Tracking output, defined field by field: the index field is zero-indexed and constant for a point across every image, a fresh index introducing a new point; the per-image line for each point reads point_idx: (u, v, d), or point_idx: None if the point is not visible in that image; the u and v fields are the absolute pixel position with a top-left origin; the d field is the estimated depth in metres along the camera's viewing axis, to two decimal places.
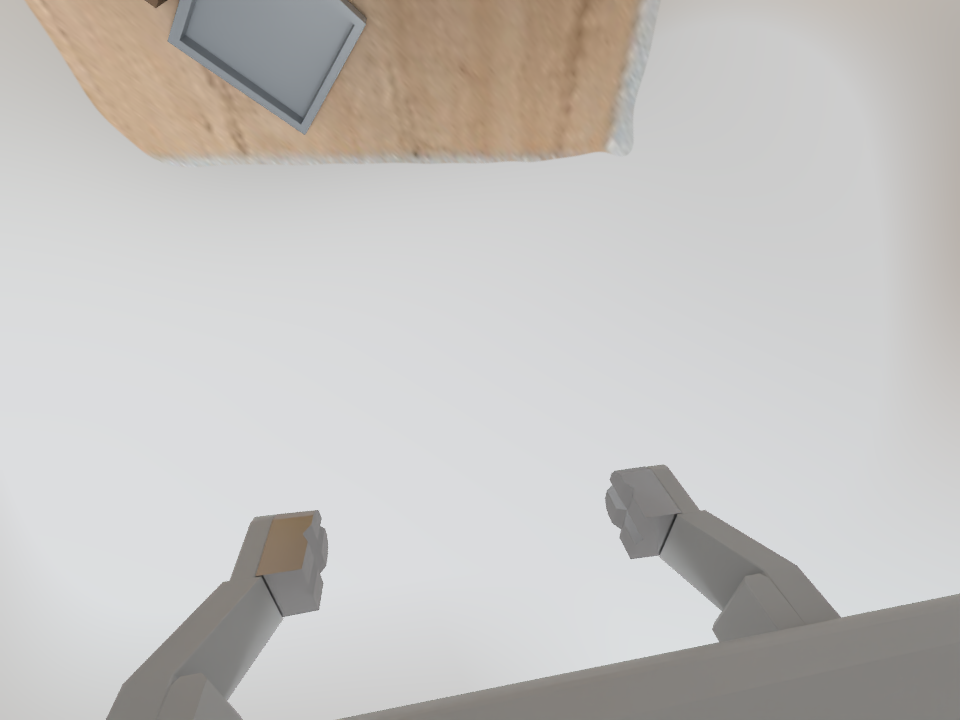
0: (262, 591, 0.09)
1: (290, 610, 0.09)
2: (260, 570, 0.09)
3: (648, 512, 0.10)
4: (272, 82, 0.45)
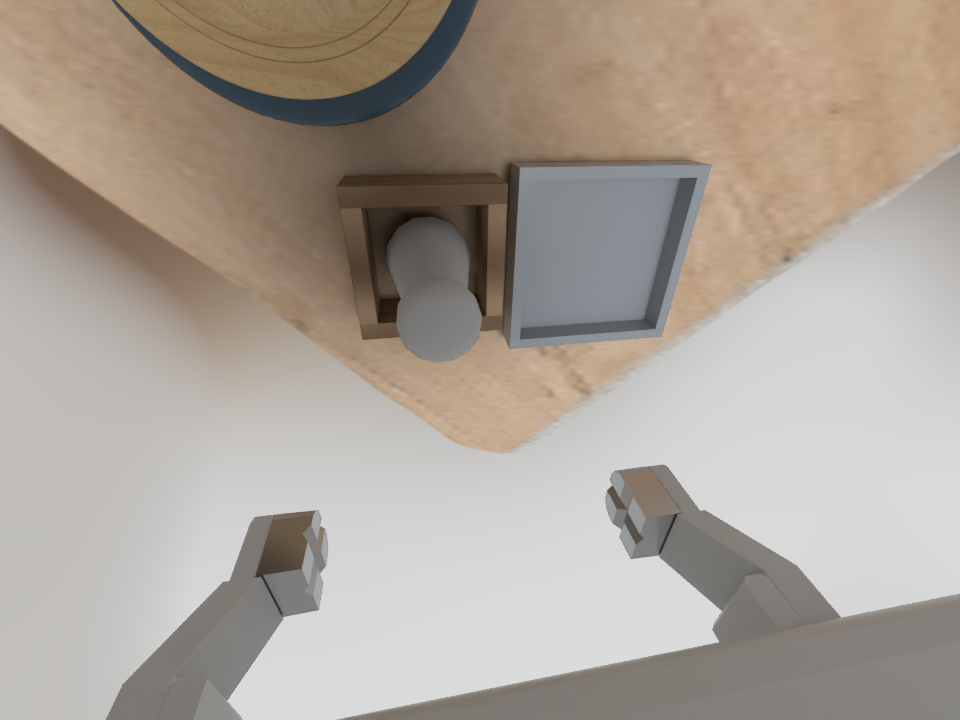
0: (262, 591, 0.09)
1: (290, 610, 0.09)
2: (260, 570, 0.09)
3: (648, 512, 0.10)
4: (604, 308, 0.35)
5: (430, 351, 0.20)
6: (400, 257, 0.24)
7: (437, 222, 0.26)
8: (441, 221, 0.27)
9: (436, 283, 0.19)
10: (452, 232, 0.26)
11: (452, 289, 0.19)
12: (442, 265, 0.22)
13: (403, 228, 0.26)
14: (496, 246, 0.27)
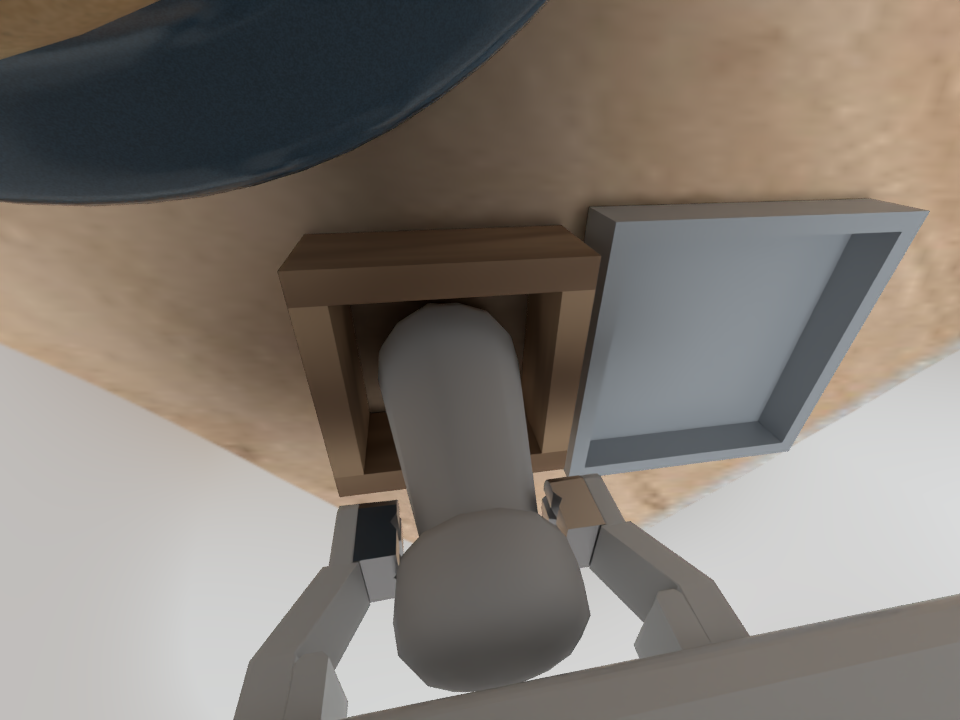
0: (358, 576, 0.09)
1: (378, 596, 0.10)
2: (357, 556, 0.09)
3: (571, 523, 0.10)
4: (705, 410, 0.23)
5: (472, 690, 0.09)
6: (402, 396, 0.13)
7: (467, 316, 0.15)
8: (473, 313, 0.15)
9: (491, 554, 0.08)
10: (493, 335, 0.15)
11: (533, 574, 0.08)
12: (489, 439, 0.11)
13: (407, 328, 0.15)
14: (569, 355, 0.15)
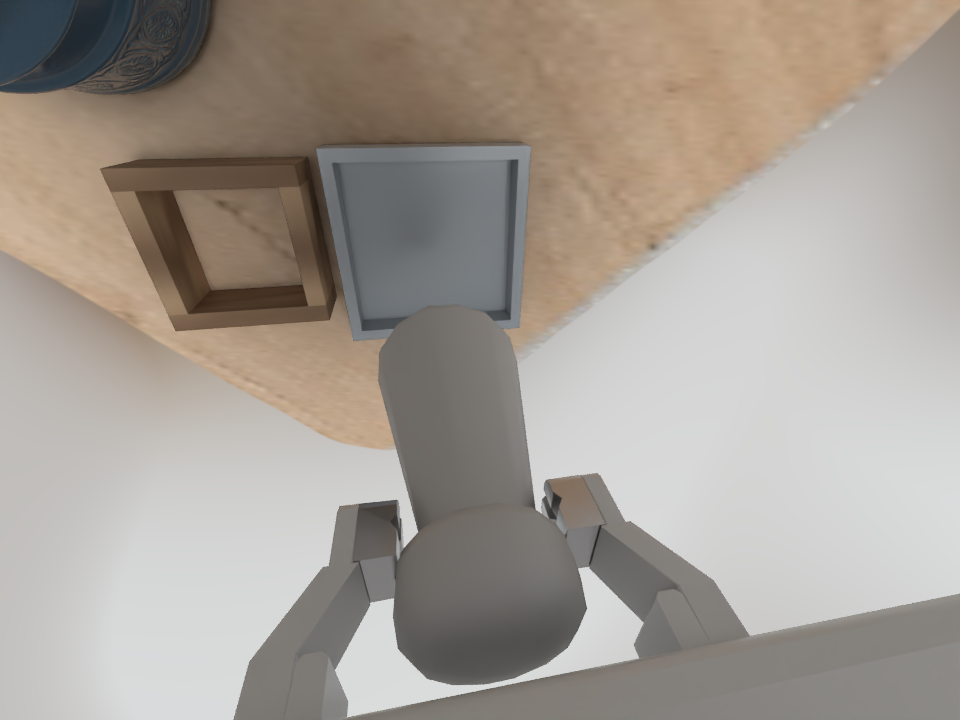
0: (358, 576, 0.09)
1: (378, 596, 0.10)
2: (356, 556, 0.09)
3: (571, 523, 0.10)
4: (458, 298, 0.34)
5: (471, 682, 0.09)
6: (402, 396, 0.13)
7: (466, 318, 0.15)
8: (472, 315, 0.15)
9: (488, 547, 0.08)
10: (492, 337, 0.15)
11: (529, 567, 0.08)
12: (487, 437, 0.11)
13: (407, 330, 0.15)
14: (299, 232, 0.26)
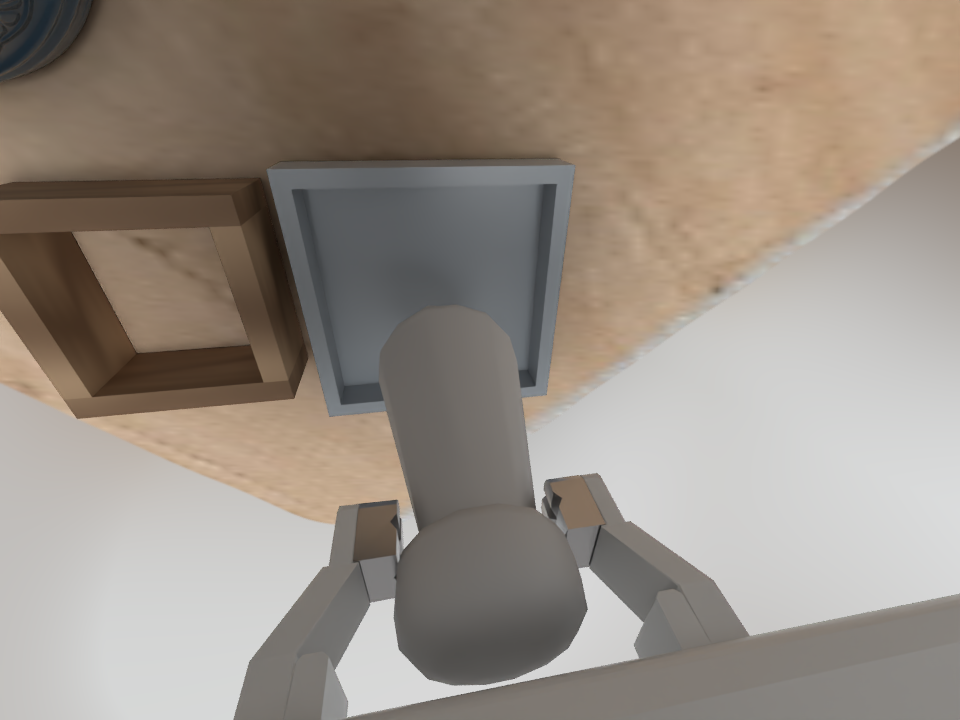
0: (358, 576, 0.09)
1: (378, 596, 0.10)
2: (357, 556, 0.09)
3: (571, 523, 0.10)
4: None
5: (472, 683, 0.09)
6: (402, 397, 0.13)
7: (467, 318, 0.15)
8: (472, 315, 0.15)
9: (489, 547, 0.08)
10: (492, 337, 0.15)
11: (530, 567, 0.08)
12: (487, 437, 0.11)
13: (407, 330, 0.15)
14: (245, 287, 0.18)
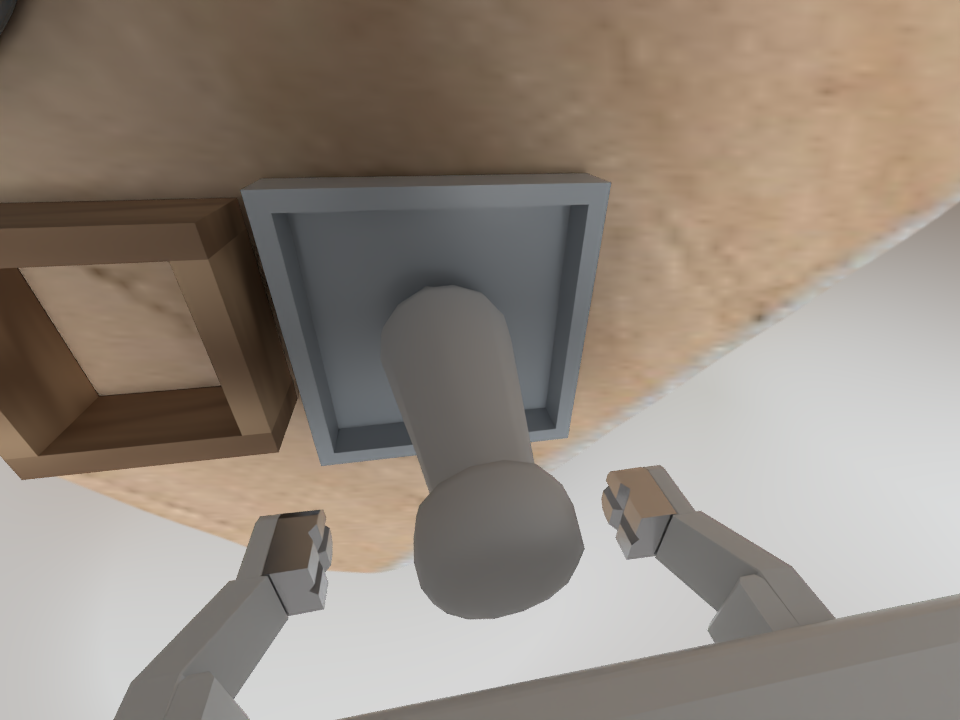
0: (268, 590, 0.09)
1: (295, 609, 0.09)
2: (266, 570, 0.09)
3: (644, 513, 0.10)
4: None
5: (485, 615, 0.10)
6: (407, 371, 0.14)
7: (464, 297, 0.16)
8: (469, 295, 0.16)
9: (500, 495, 0.09)
10: (489, 314, 0.16)
11: (536, 511, 0.09)
12: (490, 405, 0.12)
13: (408, 309, 0.16)
14: (216, 331, 0.15)
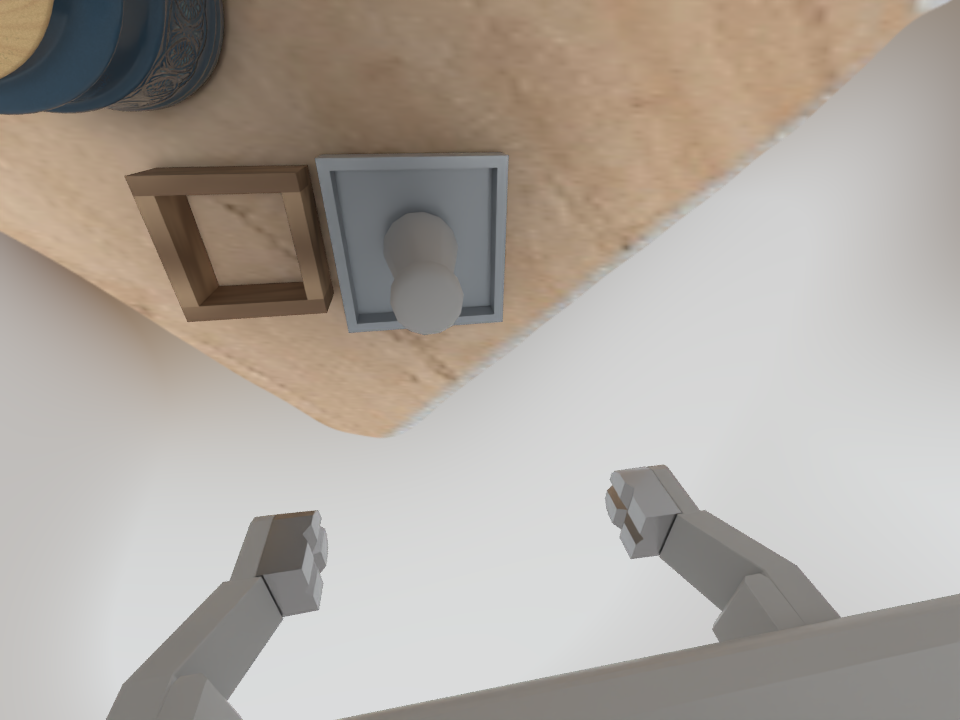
0: (262, 591, 0.09)
1: (290, 610, 0.09)
2: (260, 570, 0.09)
3: (648, 512, 0.10)
4: None
5: (419, 324, 0.23)
6: (395, 247, 0.28)
7: (428, 216, 0.30)
8: (431, 216, 0.30)
9: (423, 265, 0.23)
10: (441, 225, 0.30)
11: (437, 270, 0.22)
12: (431, 253, 0.26)
13: (398, 222, 0.30)
14: (299, 232, 0.29)
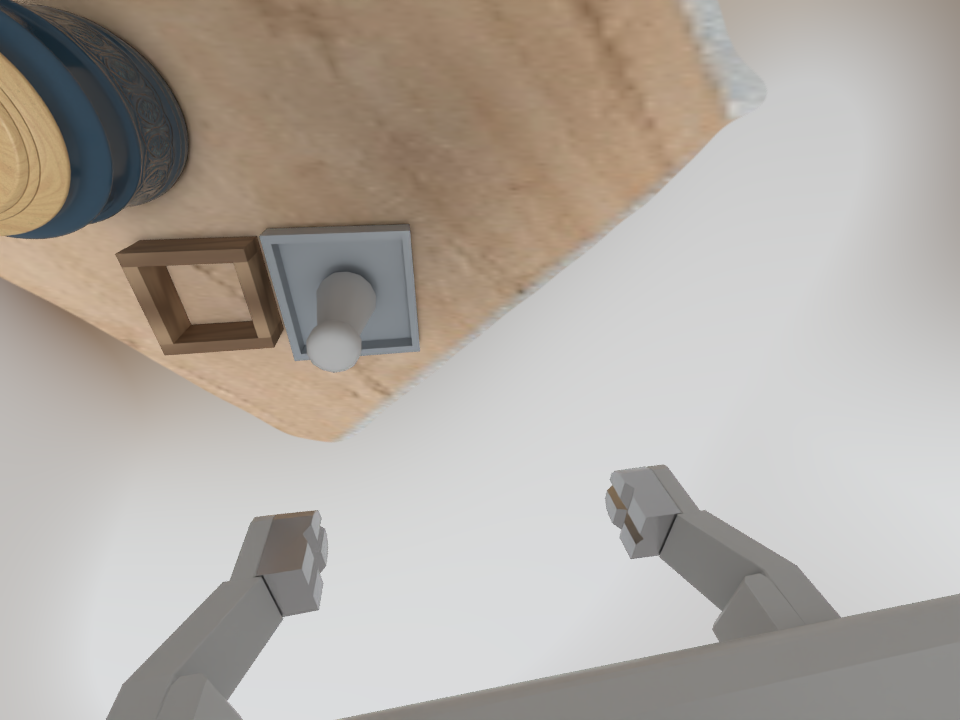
0: (262, 591, 0.09)
1: (290, 610, 0.09)
2: (260, 570, 0.09)
3: (648, 512, 0.10)
4: (375, 329, 0.46)
5: (327, 366, 0.33)
6: (320, 302, 0.37)
7: (349, 276, 0.39)
8: (352, 275, 0.39)
9: (328, 325, 0.32)
10: (358, 283, 0.39)
11: (337, 329, 0.32)
12: (342, 310, 0.35)
13: (326, 280, 0.39)
14: (249, 290, 0.38)
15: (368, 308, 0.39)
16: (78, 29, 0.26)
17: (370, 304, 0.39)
